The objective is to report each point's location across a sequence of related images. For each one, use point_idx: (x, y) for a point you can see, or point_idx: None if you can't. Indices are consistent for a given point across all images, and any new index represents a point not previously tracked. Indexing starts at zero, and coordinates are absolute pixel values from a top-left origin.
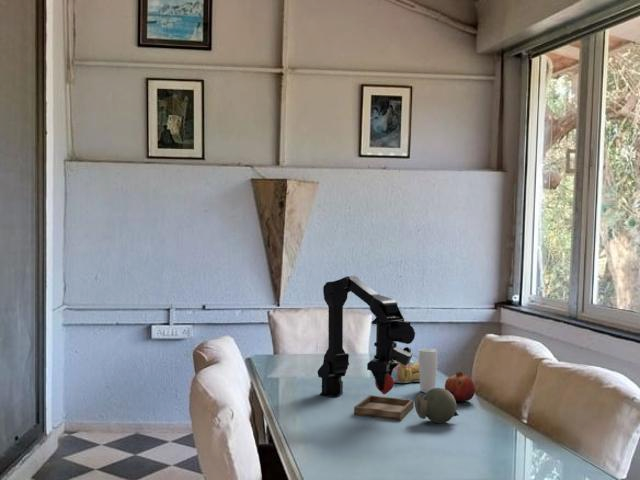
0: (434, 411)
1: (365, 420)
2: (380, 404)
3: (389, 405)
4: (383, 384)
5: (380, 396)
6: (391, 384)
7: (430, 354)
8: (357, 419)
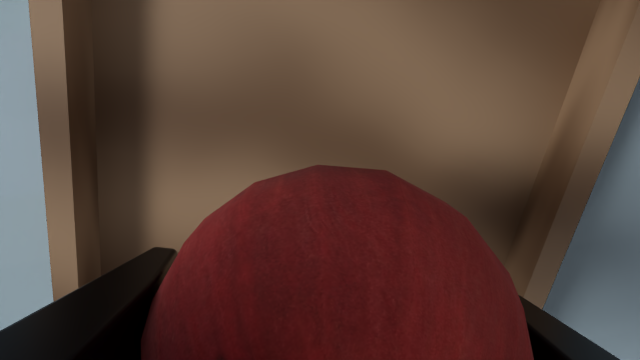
0: None
1: (616, 253)
2: (183, 214)
3: (183, 128)
4: (595, 349)
5: (53, 255)
6: (444, 209)
7: None
8: (591, 306)
